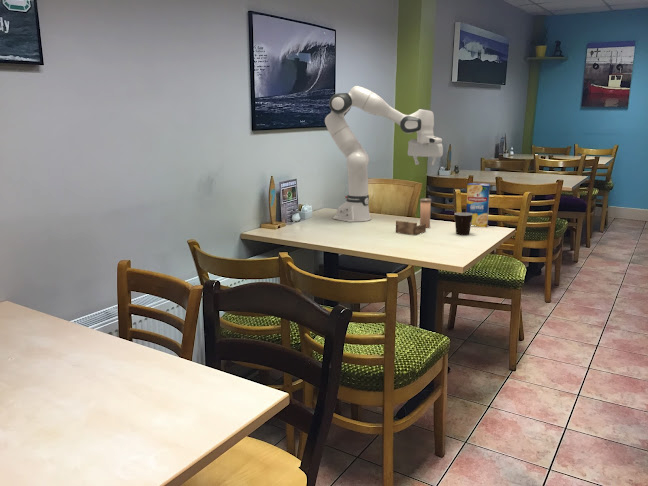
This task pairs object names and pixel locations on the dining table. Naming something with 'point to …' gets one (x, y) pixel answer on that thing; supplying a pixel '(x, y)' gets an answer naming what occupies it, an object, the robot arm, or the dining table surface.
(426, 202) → the canister
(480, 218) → the blue yellow food box
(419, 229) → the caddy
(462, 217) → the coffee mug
